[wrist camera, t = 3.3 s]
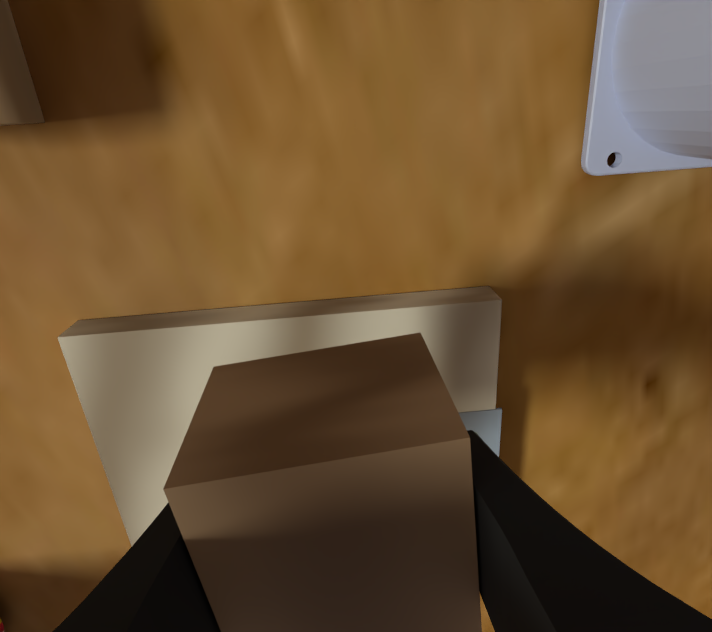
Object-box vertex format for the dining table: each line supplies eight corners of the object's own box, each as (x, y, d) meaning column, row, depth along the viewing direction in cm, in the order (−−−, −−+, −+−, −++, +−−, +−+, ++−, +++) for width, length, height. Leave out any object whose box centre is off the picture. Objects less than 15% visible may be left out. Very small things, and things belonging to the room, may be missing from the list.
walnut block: (420, 332, 11) (469, 437, 8) (436, 490, 13) (482, 634, 10) (213, 366, 11) (163, 489, 8) (260, 520, 13) (239, 676, 10)
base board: (495, 285, 19) (509, 300, 17) (482, 529, 24) (492, 556, 22) (77, 320, 18) (56, 338, 17) (157, 560, 23) (146, 589, 22)
